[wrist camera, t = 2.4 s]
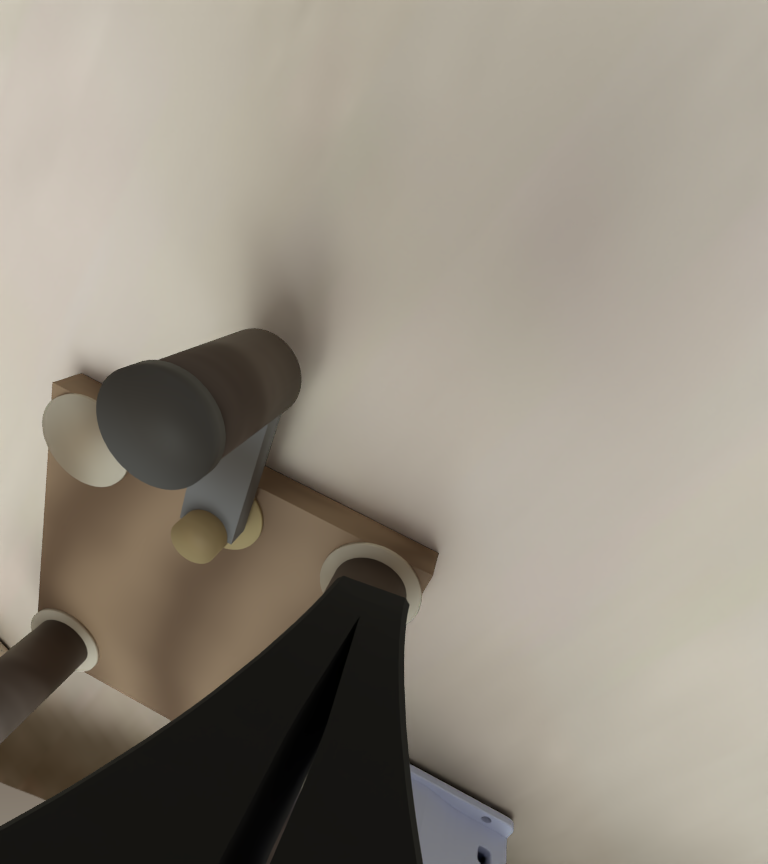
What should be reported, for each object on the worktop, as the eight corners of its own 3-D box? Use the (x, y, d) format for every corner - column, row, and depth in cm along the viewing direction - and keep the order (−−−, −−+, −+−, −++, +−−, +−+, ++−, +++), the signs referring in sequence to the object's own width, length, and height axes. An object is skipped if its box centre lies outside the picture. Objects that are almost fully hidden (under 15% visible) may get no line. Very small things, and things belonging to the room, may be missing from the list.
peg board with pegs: (444, 552, 21) (410, 692, 14) (315, 771, 29) (258, 921, 22) (77, 367, 22) (-100, 421, 16) (54, 626, 30) (-68, 730, 24)
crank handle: (248, 552, 21) (161, 655, 16) (180, 517, 21) (73, 606, 16) (316, 351, 16) (225, 403, 11) (228, 309, 17) (103, 342, 12)
